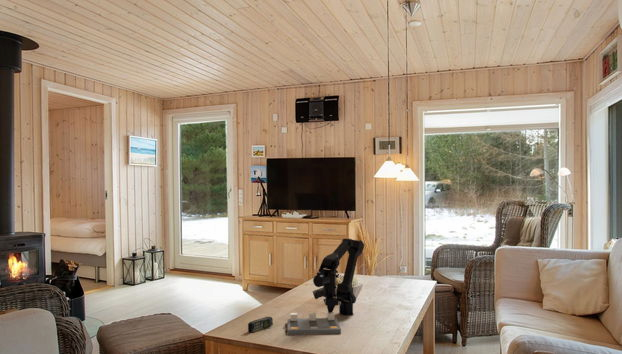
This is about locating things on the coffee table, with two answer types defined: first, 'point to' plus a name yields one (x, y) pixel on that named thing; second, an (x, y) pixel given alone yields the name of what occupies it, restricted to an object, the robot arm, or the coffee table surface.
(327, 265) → the robot arm
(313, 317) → the tab middle
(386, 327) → the coffee table surface
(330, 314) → the tab
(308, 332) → the switch plate
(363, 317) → the coffee table surface
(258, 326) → the mobile phone
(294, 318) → the tab
